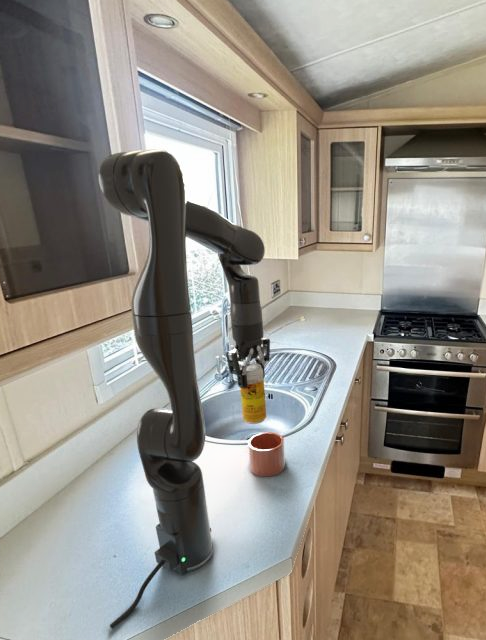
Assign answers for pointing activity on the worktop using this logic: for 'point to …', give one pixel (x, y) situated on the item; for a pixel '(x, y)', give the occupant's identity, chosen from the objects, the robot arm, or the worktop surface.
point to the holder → (266, 454)
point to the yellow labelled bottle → (254, 395)
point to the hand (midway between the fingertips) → (252, 382)
